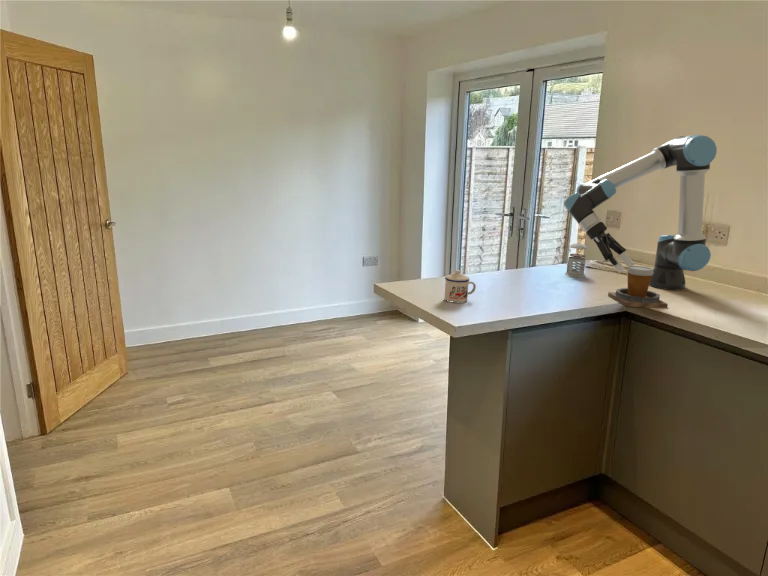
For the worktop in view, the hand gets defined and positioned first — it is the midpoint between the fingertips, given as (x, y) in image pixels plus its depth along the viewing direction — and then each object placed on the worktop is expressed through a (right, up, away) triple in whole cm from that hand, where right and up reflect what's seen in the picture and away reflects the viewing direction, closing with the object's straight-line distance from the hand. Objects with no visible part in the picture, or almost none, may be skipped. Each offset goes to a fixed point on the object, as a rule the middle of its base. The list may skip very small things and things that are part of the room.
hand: (627, 268), depth 211 cm
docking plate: (+4, -13, 0) cm, 13 cm away
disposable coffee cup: (+3, -12, 0) cm, 12 cm away
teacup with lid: (-67, -12, -7) cm, 69 cm away
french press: (-5, -1, +47) cm, 47 cm away
